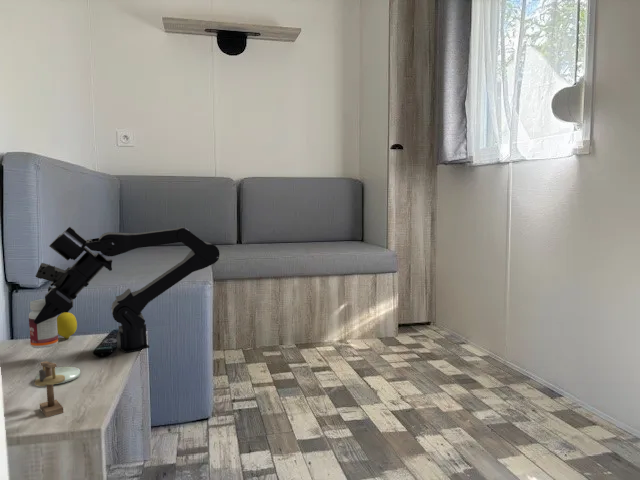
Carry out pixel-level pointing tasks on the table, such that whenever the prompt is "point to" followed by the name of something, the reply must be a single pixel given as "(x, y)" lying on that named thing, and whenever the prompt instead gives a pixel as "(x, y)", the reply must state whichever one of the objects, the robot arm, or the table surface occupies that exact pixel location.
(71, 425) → the table surface
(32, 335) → the pill bottle
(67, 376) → the dish
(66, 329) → the lemon
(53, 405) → the balance
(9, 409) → the table surface
